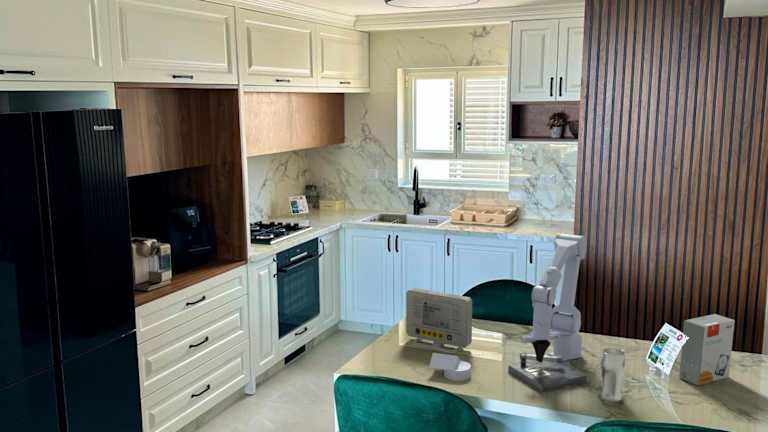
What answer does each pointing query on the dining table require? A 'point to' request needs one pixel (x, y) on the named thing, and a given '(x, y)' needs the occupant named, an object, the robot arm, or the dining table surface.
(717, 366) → the hard drive box
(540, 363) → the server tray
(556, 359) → the grey ball-ended handle
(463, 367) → the wedge on round base
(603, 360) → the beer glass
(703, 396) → the dining table surface
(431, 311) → the network device
